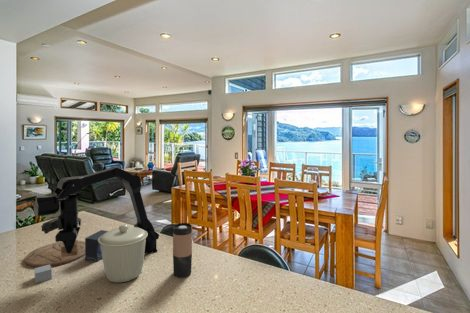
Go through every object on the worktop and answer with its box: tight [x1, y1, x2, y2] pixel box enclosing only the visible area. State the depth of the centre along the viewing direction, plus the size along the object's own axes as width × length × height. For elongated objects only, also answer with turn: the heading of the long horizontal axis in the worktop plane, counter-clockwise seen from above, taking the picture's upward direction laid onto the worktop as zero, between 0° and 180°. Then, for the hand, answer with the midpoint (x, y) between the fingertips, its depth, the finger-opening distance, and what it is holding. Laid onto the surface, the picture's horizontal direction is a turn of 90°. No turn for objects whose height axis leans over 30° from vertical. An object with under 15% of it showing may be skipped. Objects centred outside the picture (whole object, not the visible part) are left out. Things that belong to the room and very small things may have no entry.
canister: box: [98, 223, 148, 284], centre depth 103 cm, size 18×18×21 cm
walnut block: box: [61, 239, 79, 257], centre depth 99 cm, size 5×5×4 cm
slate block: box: [33, 264, 53, 284], centre depth 100 cm, size 5×5×4 cm
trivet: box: [24, 240, 85, 268], centre depth 121 cm, size 25×25×2 cm
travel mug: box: [172, 222, 193, 279], centre depth 105 cm, size 8×8×20 cm
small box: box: [84, 229, 109, 263], centre depth 119 cm, size 11×6×10 cm, turn 168°
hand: (70, 250), depth 99 cm, fingers closed on walnut block, 5 cm apart
